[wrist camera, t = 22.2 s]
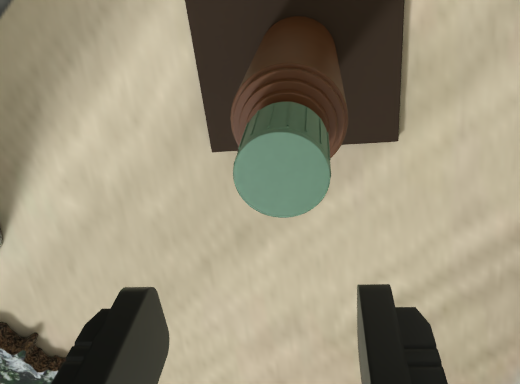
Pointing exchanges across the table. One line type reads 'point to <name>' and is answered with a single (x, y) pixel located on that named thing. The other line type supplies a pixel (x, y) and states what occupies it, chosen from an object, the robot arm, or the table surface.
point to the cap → (283, 160)
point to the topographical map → (25, 360)
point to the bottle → (294, 77)
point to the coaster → (347, 47)
